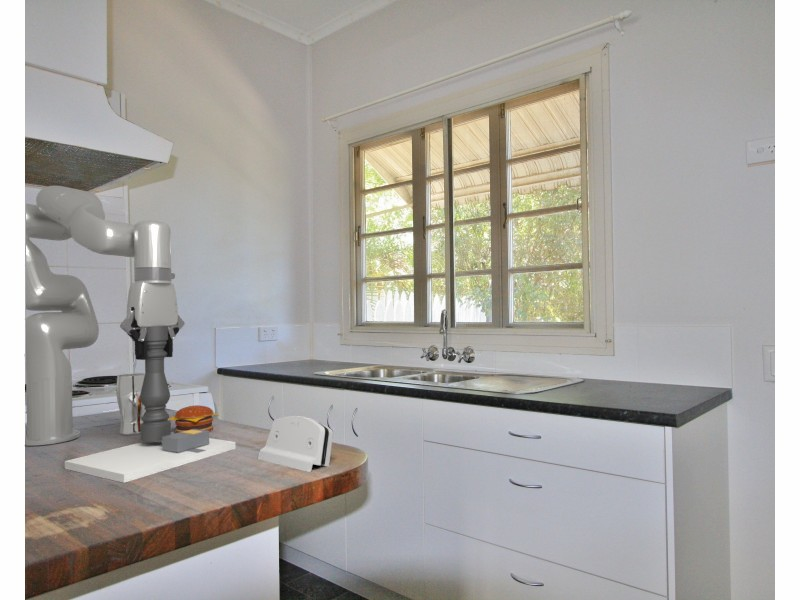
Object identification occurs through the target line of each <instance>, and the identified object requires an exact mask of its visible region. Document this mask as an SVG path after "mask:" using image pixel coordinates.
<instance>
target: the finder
mask: <svg viewBox="0 0 800 600" xmlns="http://www.w3.org/2000/svg"><path fill="white" fill-rule="evenodd" d="M209 438H210V432H209V431H206V430H199V429H191V430H187V431H183V432H179V433H176V432H175V433H171V435H167V436H163V437H162V450H166V451H171V452H177V453H178V452H182V451H185V450H189V449H192V448H196V447H199V446H203V445H207V444H209Z"/></svg>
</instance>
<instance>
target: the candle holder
mask: <svg viewBox="0 0 800 600" xmlns="http://www.w3.org/2000/svg"><path fill="white" fill-rule="evenodd" d="M167 340H168V326H151V327H149V328H147V332H146V336H145V339H144V341H146V342H147V359H146V360H144V373H145V376H144V381H143V385H142V389H141V394H140V400H141V403H142V404H143V405H144V406H145V408H144V415H143V416H142V418H141V420H142V421H143V423H142V424H141V425H140V435H139V437H140V439H139V440H140V442H143V441H144V442H154V441H162V437H163V436H167V435H171V434H172V422H171V420H170V421H168V420H169V419H170V415H169V413H168V412H167V410H166V408H167V404H168V403H169V400H170V398H171V392H170V388H169V385H168V382H167V381H168V380H167V377H166V374H165V359H166V357H165V356H167V352H166V351H164V348H165V345H166V344H167Z"/></svg>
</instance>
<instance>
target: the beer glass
mask: <svg viewBox="0 0 800 600" xmlns="http://www.w3.org/2000/svg"><path fill="white" fill-rule="evenodd" d="M144 376H145V372H144V373H143V372H140V373H139V372H136V373H135V372H134V373H123V374H118V375H117V377H116V400H117V405H118V408H119V409H118V410H119V414H120V426H119V435H120V436H135V435H139V434H140V425H141V424H142V423H143V421H142V420H141V418H142V416H143V415H144V413H145V409H144V408H145V406H144V405H143V404H142V403H141V400H140V394H141V389H142V385H143V381H144Z"/></svg>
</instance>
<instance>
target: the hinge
mask: <svg viewBox="0 0 800 600" xmlns="http://www.w3.org/2000/svg"><path fill="white" fill-rule="evenodd" d="M333 436H334V431H333V430H332V429H331V428H330V427H328V426H327V425H326V424H324V423H322V422H321V421H319V420H317V419H314V418H311V417H307V416H303V415H301V416H300V415H287V416H282V417H279V418H276V419H275V420H274V421H273V422H272V425H271V428H270V431H269V433H268V437H267V440H266V443H265V445H264V447H262V448H261V449H259V453H258V457H257V460H260V461H264V462H268V463H271V464H276V465H280V466H283V467H286V468H291V469H295V470H299V471H303V472H307V473H311V472H312V470H313V469H312V468H313V465H316V466H323V467H330V460H331V453H332V447H333V446H332V445H333V438H334V437H333Z"/></svg>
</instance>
